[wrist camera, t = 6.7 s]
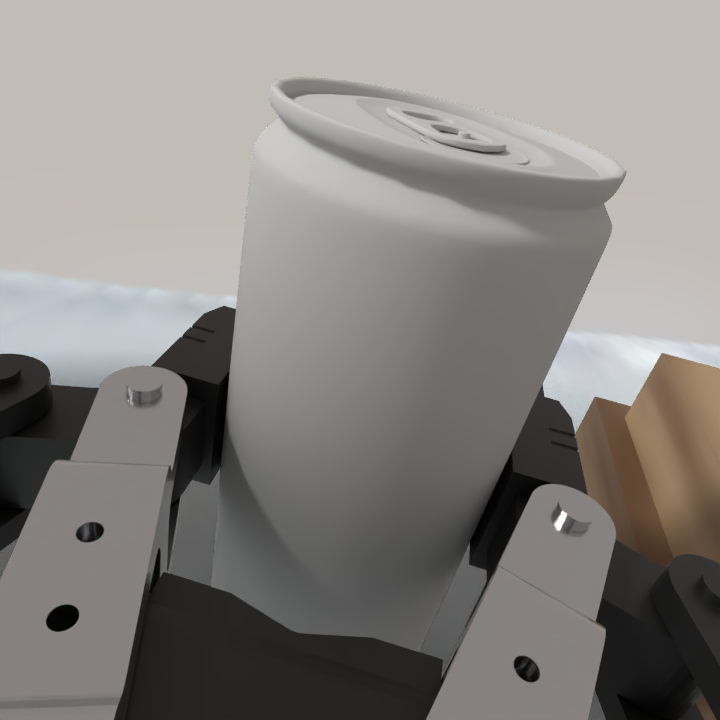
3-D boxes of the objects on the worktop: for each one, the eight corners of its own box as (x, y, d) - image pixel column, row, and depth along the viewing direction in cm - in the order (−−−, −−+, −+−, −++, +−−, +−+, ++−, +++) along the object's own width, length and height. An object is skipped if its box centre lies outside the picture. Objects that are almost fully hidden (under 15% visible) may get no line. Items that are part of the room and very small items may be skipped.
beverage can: (228, 802, 11) (353, 158, 4) (183, 586, 14) (218, 56, 8) (440, 715, 13) (726, 199, 7) (356, 546, 16) (490, 104, 10)
